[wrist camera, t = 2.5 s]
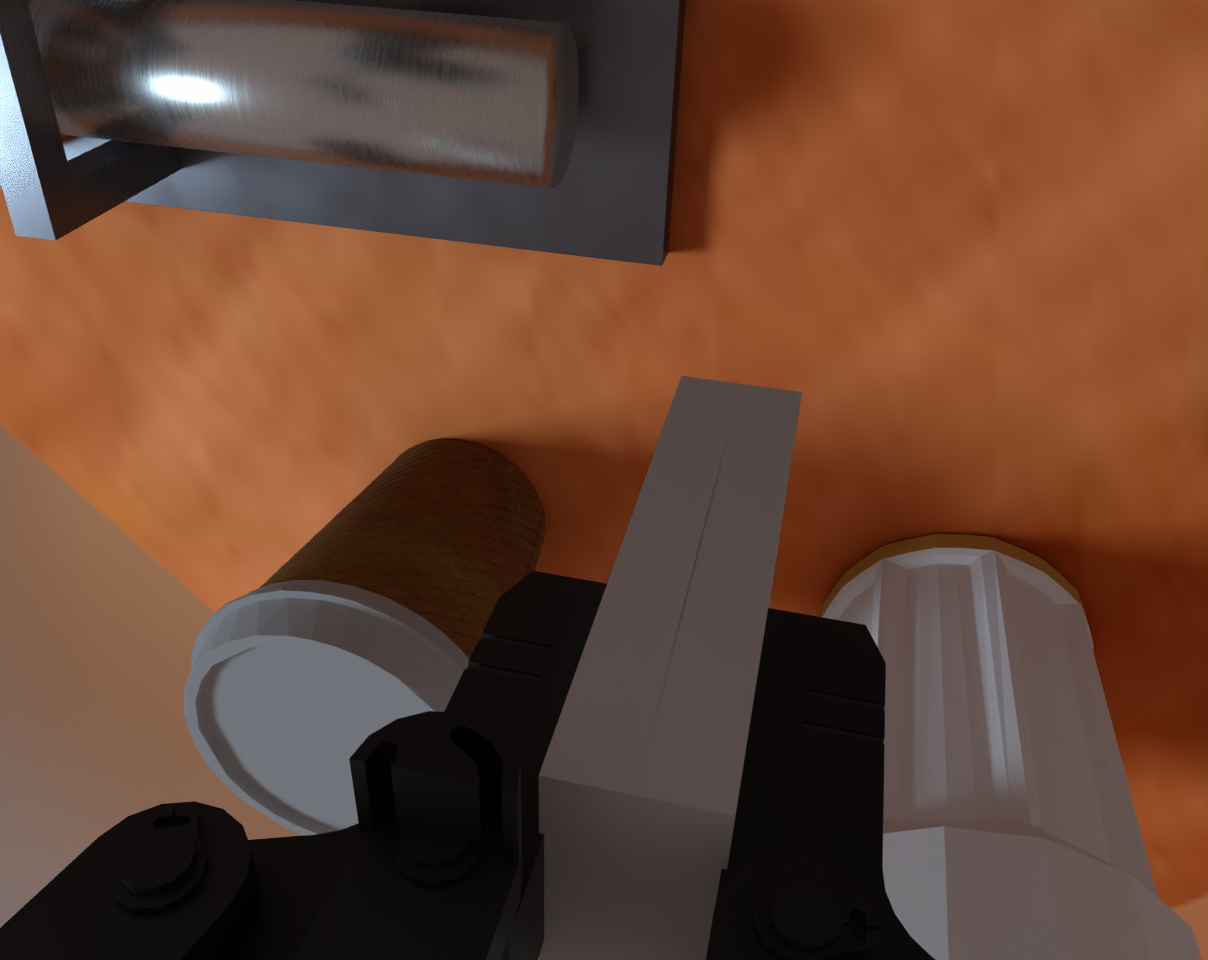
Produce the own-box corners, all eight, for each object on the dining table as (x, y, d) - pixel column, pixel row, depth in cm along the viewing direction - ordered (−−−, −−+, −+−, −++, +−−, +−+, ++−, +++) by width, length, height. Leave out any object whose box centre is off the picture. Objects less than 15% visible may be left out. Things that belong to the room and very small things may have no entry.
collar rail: (-299, -180, 32) (-612, -165, 26) (693, -123, 27) (625, -85, 20) (-174, 153, 38) (-404, 238, 31) (668, 253, 33) (607, 379, 26)
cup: (1203, 622, 36) (1400, 1189, 21) (972, 792, 42) (1006, 1313, 28) (923, 443, 34) (936, 921, 20) (729, 647, 41) (637, 1116, 27)
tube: (581, 1, 28) (536, 35, 25) (578, 165, 30) (536, 218, 27) (37, -42, 31) (-73, -16, 27) (74, 112, 33) (-23, 153, 30)
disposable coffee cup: (638, 558, 39) (551, 819, 30) (449, 639, 44) (321, 889, 34) (480, 353, 36) (325, 571, 26) (295, 463, 41) (104, 684, 31)
